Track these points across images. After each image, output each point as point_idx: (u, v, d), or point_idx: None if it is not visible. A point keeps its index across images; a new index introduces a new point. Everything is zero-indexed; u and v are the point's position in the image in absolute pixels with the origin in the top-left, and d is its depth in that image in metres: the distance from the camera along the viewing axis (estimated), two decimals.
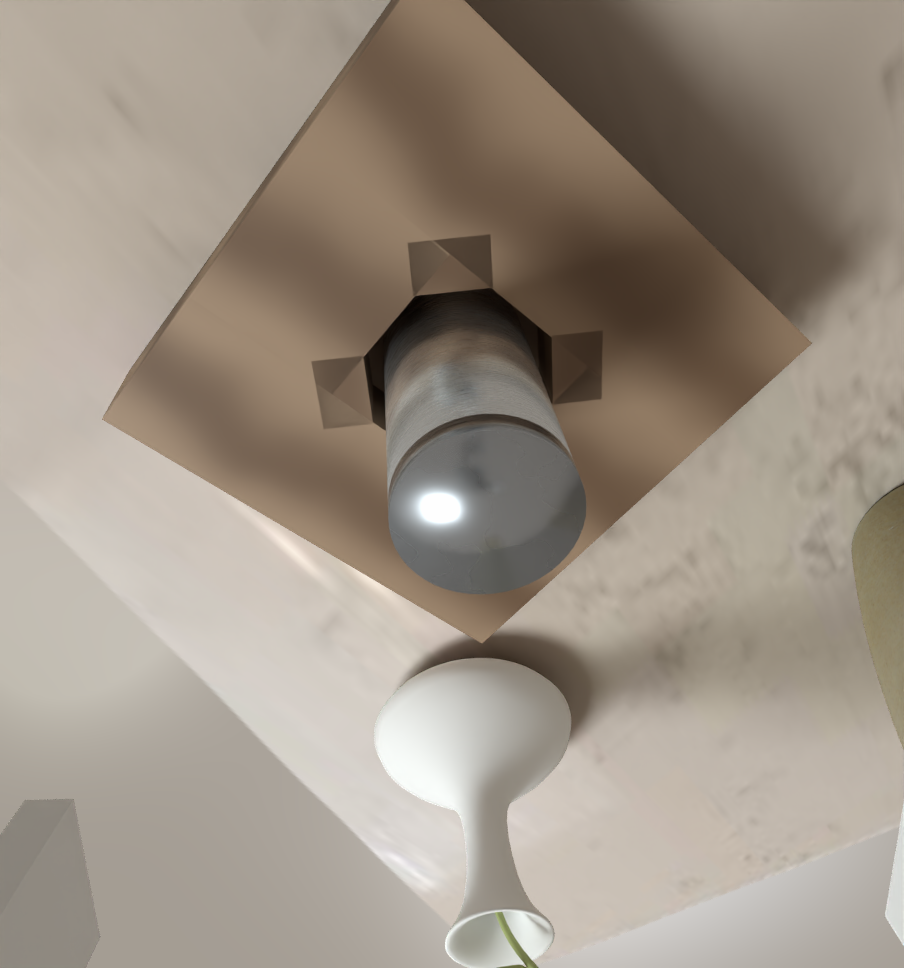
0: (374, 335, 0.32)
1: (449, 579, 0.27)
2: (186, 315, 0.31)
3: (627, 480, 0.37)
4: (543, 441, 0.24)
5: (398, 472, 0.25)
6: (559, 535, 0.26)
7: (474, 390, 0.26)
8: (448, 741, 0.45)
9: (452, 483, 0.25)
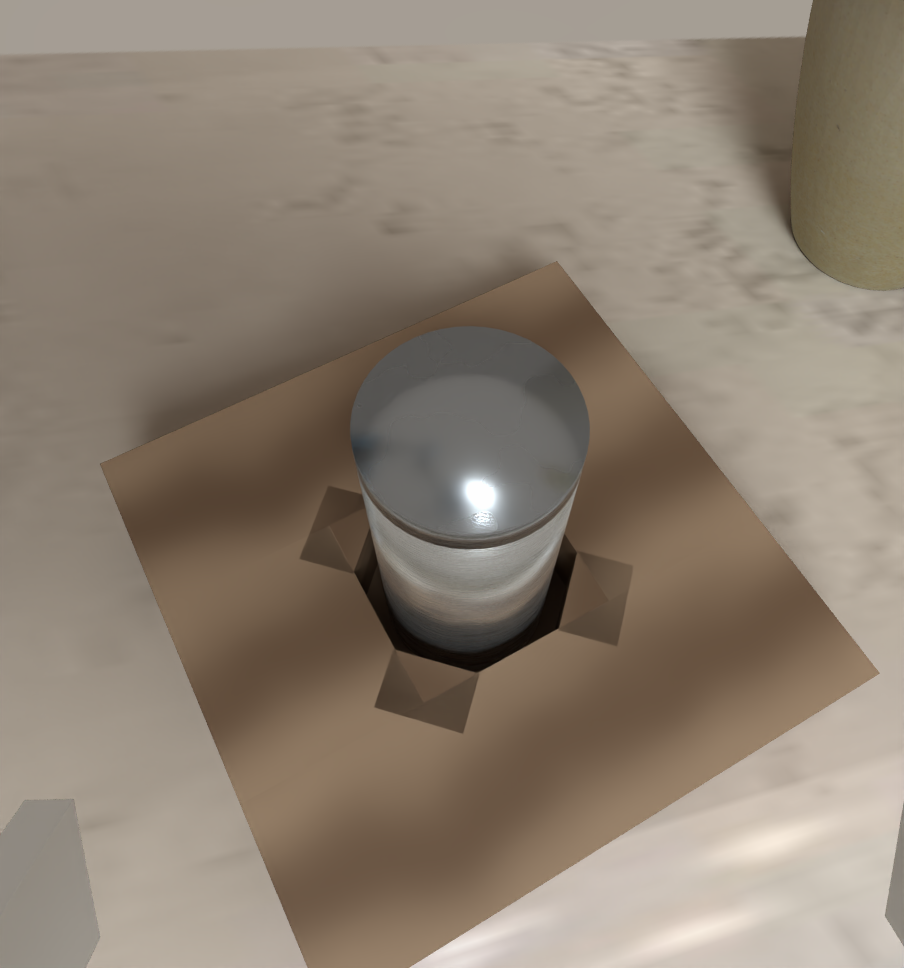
0: (376, 628, 0.29)
1: (544, 492, 0.20)
2: (257, 819, 0.26)
3: (658, 436, 0.32)
4: (399, 346, 0.22)
5: (378, 502, 0.21)
6: (528, 362, 0.22)
7: None
8: None
9: (407, 443, 0.21)
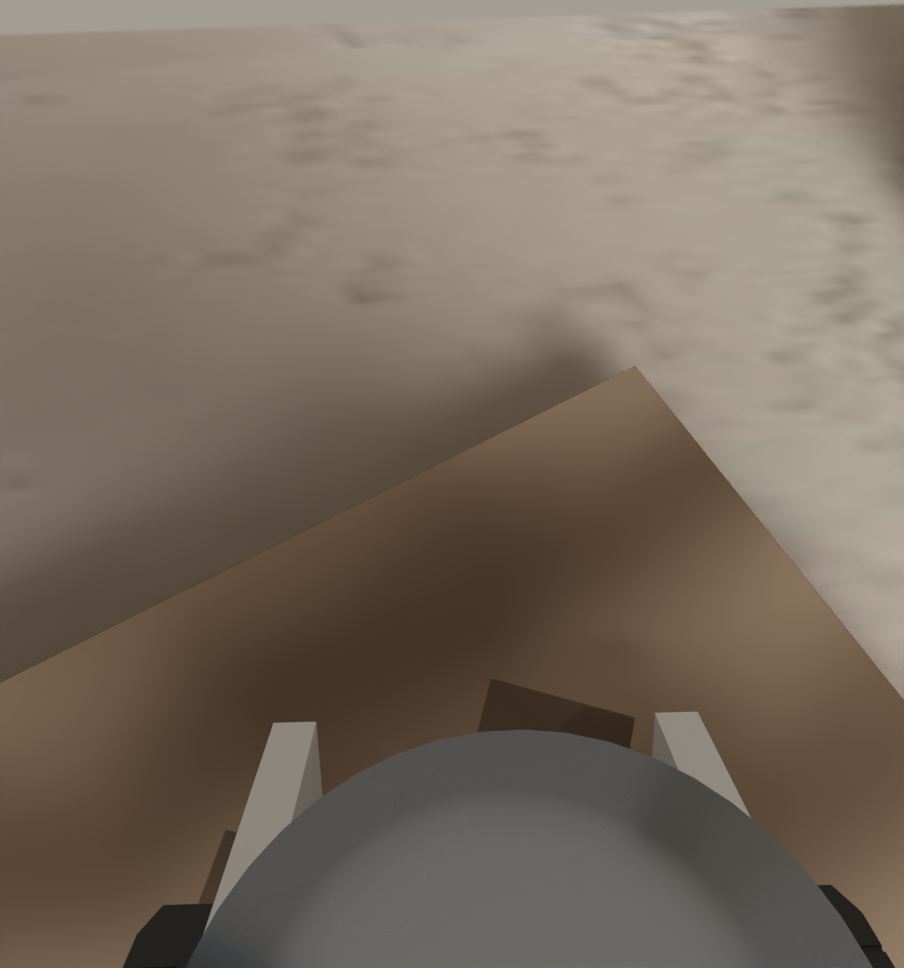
0: None
1: None
2: None
3: (846, 714, 0.17)
4: (310, 808, 0.07)
5: None
6: (703, 870, 0.07)
7: None
8: None
9: None
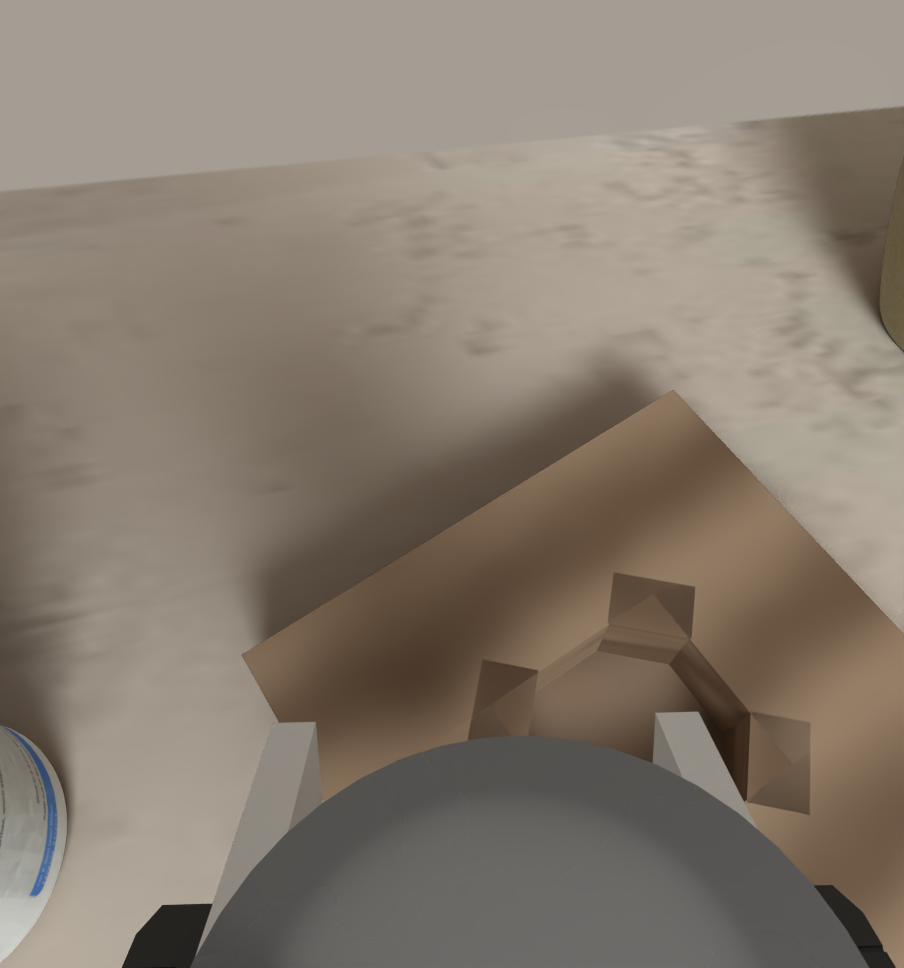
0: None
1: None
2: None
3: (810, 576, 0.31)
4: (313, 812, 0.07)
5: None
6: (707, 880, 0.07)
7: None
8: None
9: None
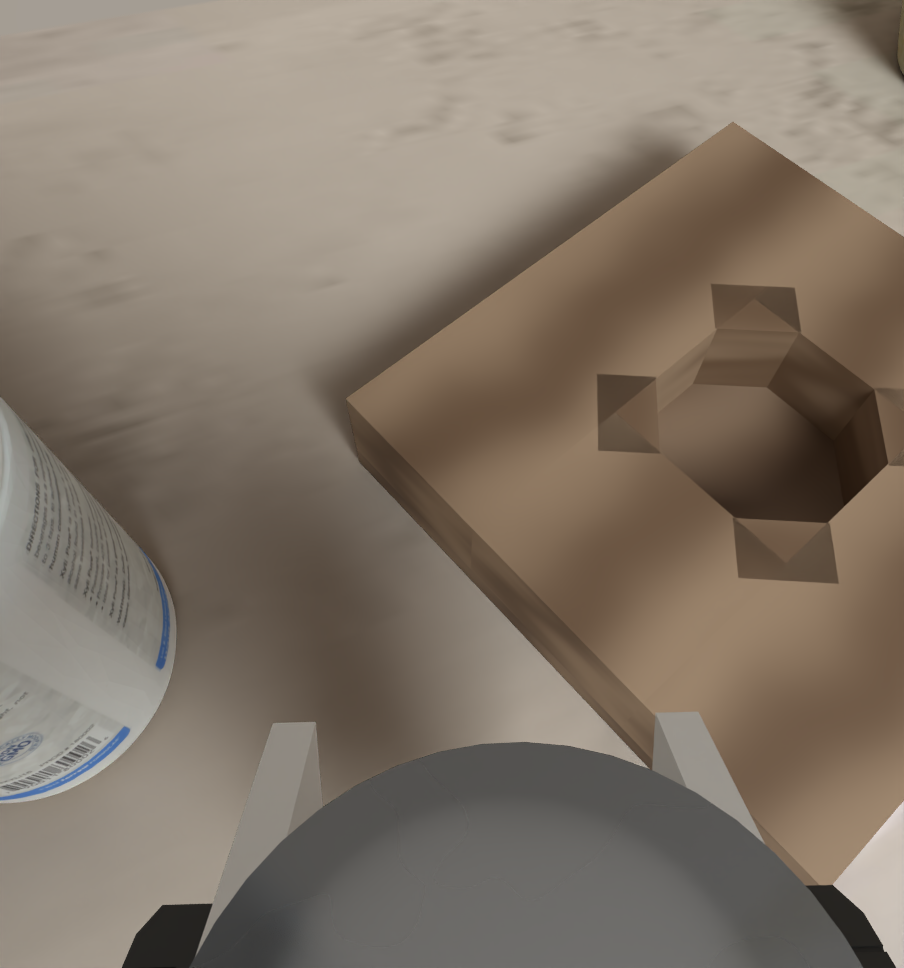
0: (706, 501, 0.27)
1: None
2: None
3: (903, 266, 0.31)
4: (309, 819, 0.07)
5: None
6: (705, 888, 0.07)
7: None
8: None
9: None
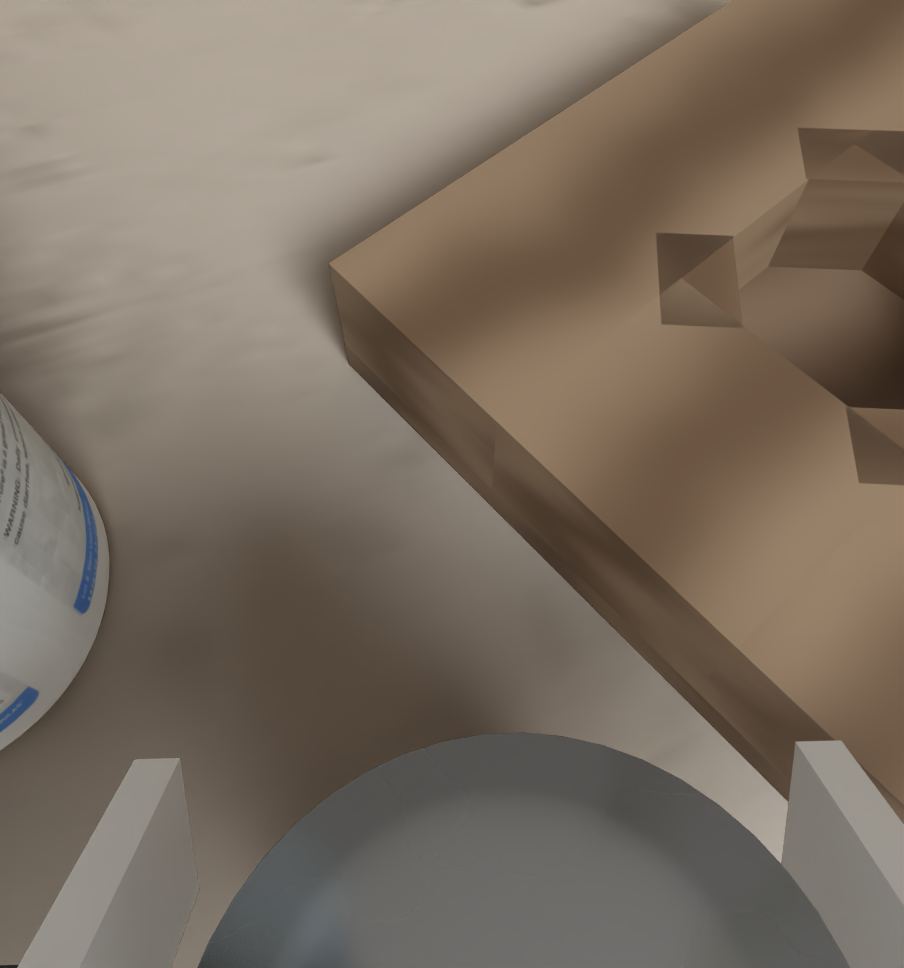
0: (809, 386, 0.20)
1: None
2: (772, 662, 0.17)
3: None
4: (321, 804, 0.08)
5: None
6: (689, 868, 0.08)
7: None
8: None
9: None
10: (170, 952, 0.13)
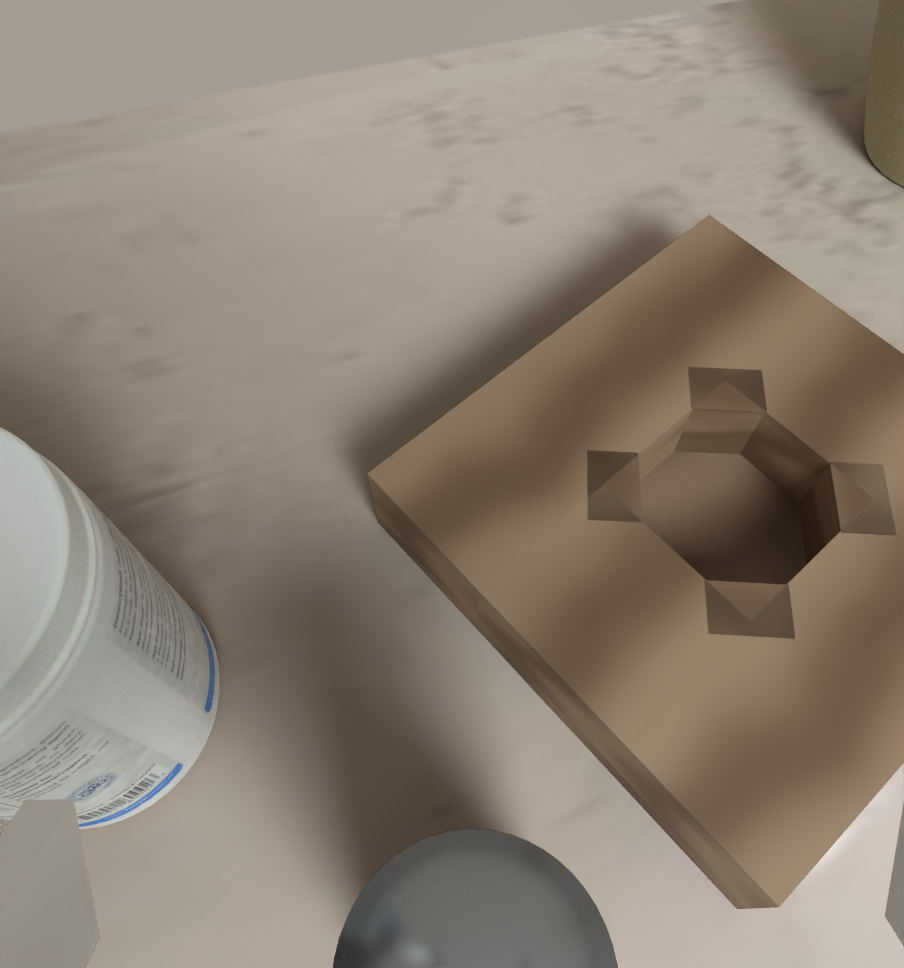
0: (681, 565, 0.31)
1: None
2: (645, 754, 0.28)
3: (859, 350, 0.35)
4: (390, 861, 0.19)
5: None
6: (545, 887, 0.18)
7: None
8: None
9: None
10: None
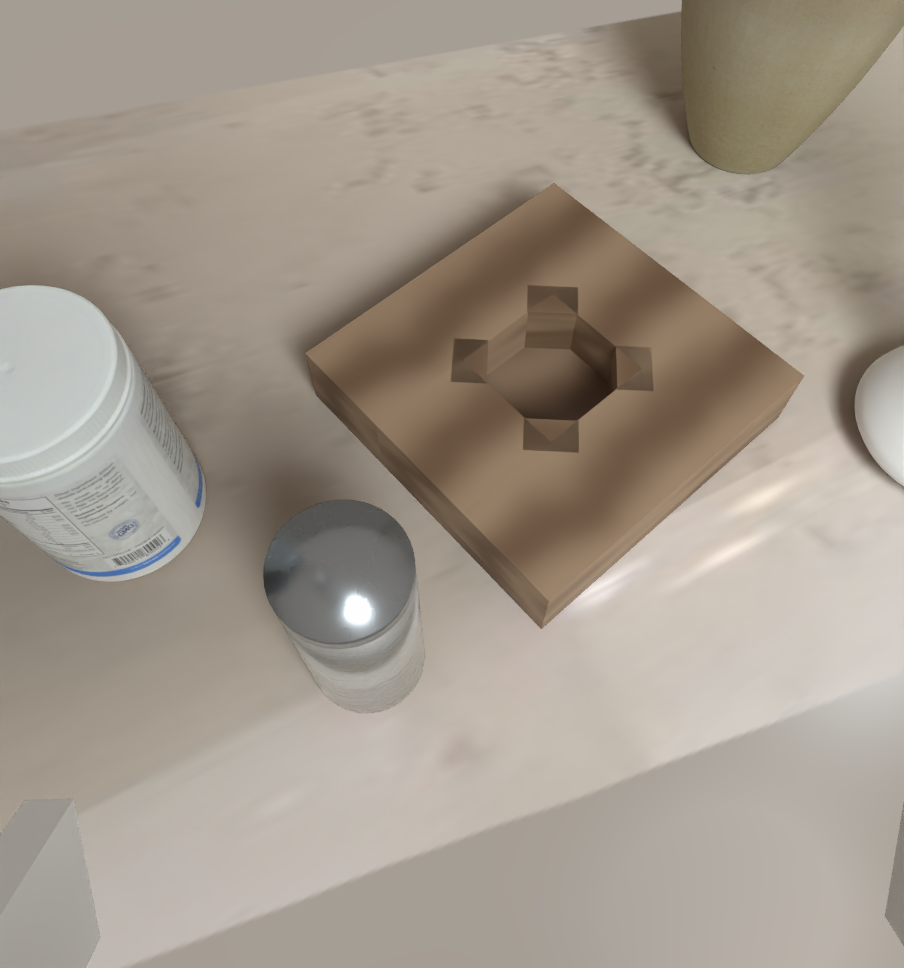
0: (510, 409, 0.47)
1: (382, 614, 0.33)
2: (475, 518, 0.44)
3: (645, 274, 0.51)
4: (297, 514, 0.35)
5: (280, 620, 0.33)
6: (379, 525, 0.34)
7: None
8: None
9: (299, 582, 0.33)
10: None
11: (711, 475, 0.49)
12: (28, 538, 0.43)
